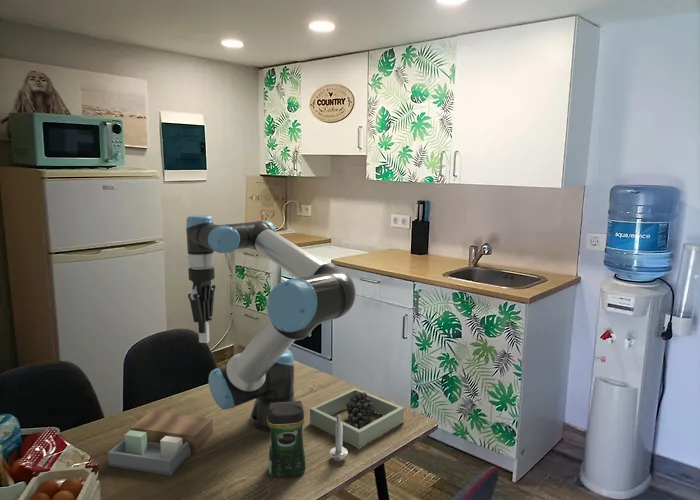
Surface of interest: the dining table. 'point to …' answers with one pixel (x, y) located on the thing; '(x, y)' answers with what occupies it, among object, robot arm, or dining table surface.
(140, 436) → the sage tile
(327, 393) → the dining table surface
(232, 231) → the robot arm
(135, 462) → the tray
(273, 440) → the coffee jar
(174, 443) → the cream tile
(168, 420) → the walnut riser
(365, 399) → the fruit
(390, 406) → the fruit crate
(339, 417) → the screw
